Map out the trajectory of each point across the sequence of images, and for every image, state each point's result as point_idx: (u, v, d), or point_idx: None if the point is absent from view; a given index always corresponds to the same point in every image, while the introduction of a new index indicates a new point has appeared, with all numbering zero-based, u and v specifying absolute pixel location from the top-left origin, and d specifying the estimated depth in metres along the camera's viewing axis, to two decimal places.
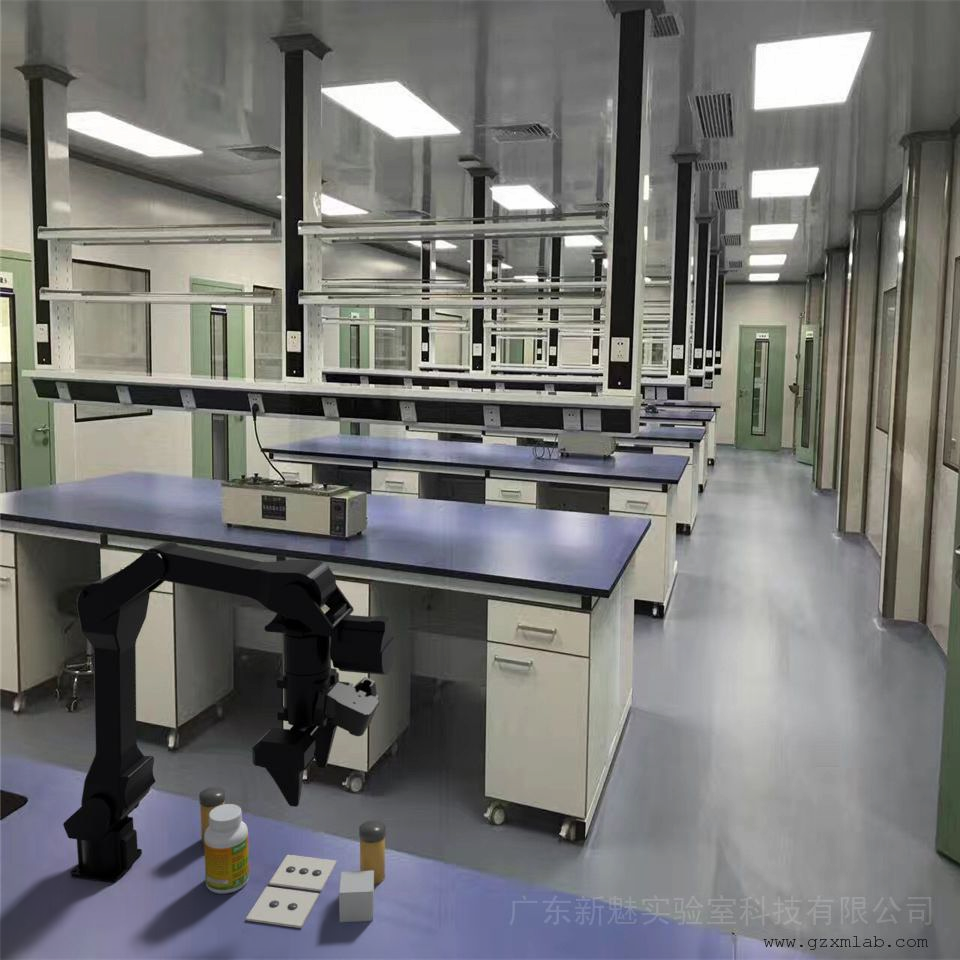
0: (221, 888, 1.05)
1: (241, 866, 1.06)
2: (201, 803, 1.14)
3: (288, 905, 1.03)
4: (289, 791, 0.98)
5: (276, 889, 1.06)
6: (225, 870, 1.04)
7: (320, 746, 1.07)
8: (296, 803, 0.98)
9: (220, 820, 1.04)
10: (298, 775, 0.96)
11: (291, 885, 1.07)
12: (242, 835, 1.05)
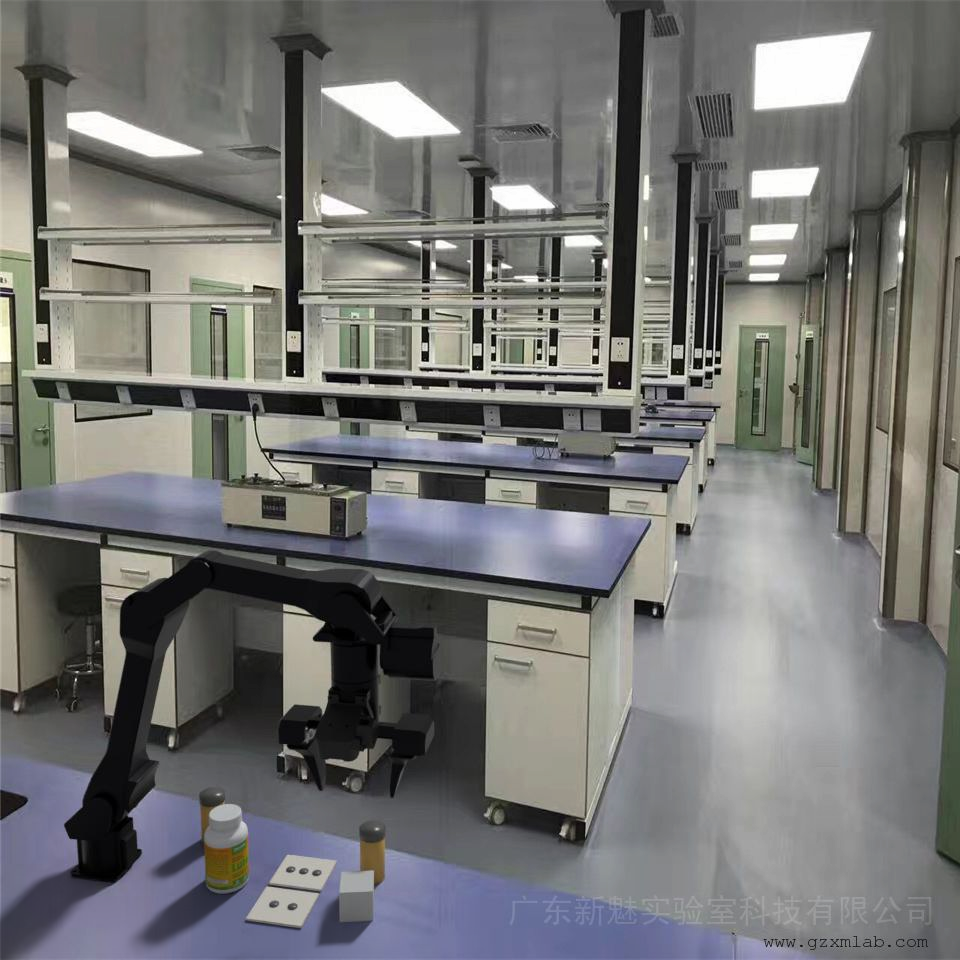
0: (221, 888, 1.05)
1: (241, 866, 1.06)
2: (201, 803, 1.14)
3: (288, 905, 1.03)
4: None
5: (276, 889, 1.06)
6: (225, 870, 1.04)
7: None
8: (318, 787, 1.04)
9: (220, 820, 1.04)
10: (303, 756, 1.03)
11: (291, 885, 1.07)
12: (242, 835, 1.05)
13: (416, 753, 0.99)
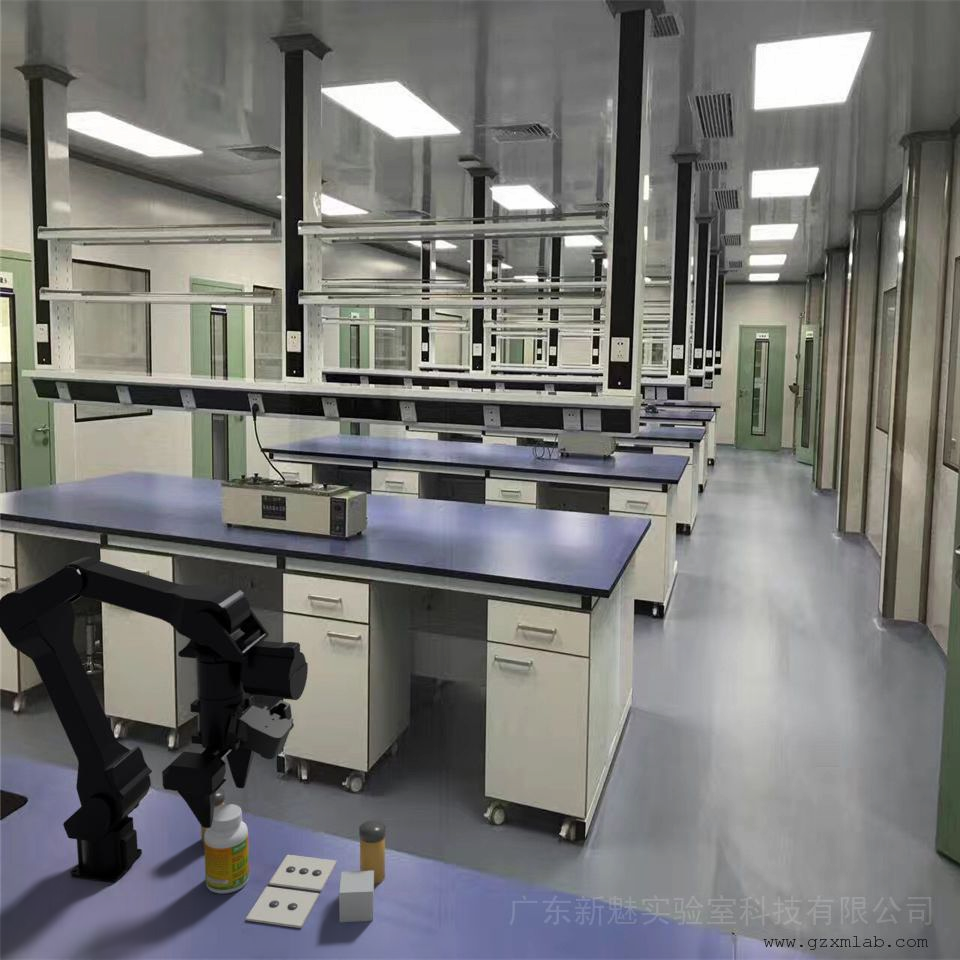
0: (221, 888, 1.05)
1: (241, 866, 1.06)
2: None
3: (288, 905, 1.03)
4: (201, 813, 1.00)
5: (276, 889, 1.06)
6: (225, 870, 1.04)
7: (238, 767, 1.10)
8: (208, 824, 1.01)
9: (220, 820, 1.04)
10: (209, 798, 0.98)
11: (291, 885, 1.07)
12: (242, 835, 1.05)
13: None
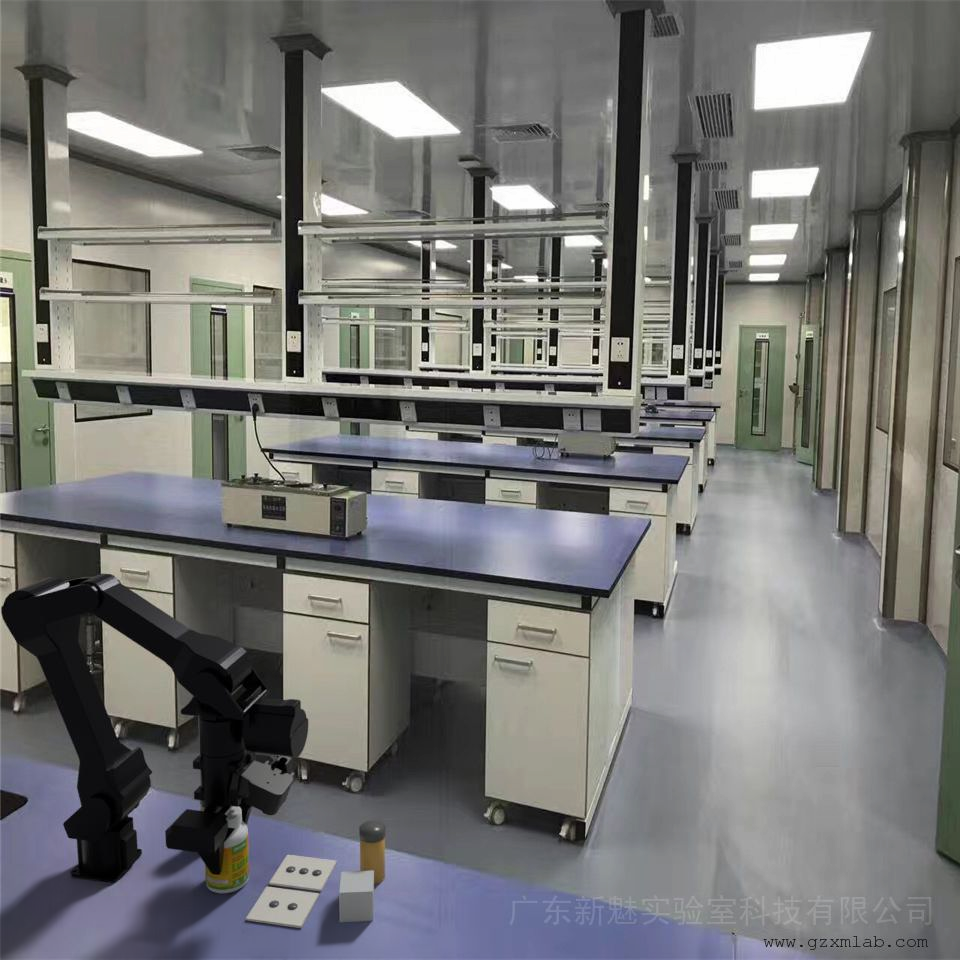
0: (221, 888, 1.05)
1: (241, 865, 1.06)
2: (201, 803, 1.14)
3: (288, 905, 1.03)
4: (211, 861, 1.03)
5: (276, 889, 1.06)
6: (225, 870, 1.04)
7: None
8: (218, 872, 1.04)
9: None
10: (218, 847, 1.01)
11: (291, 885, 1.07)
12: (242, 834, 1.05)
13: None
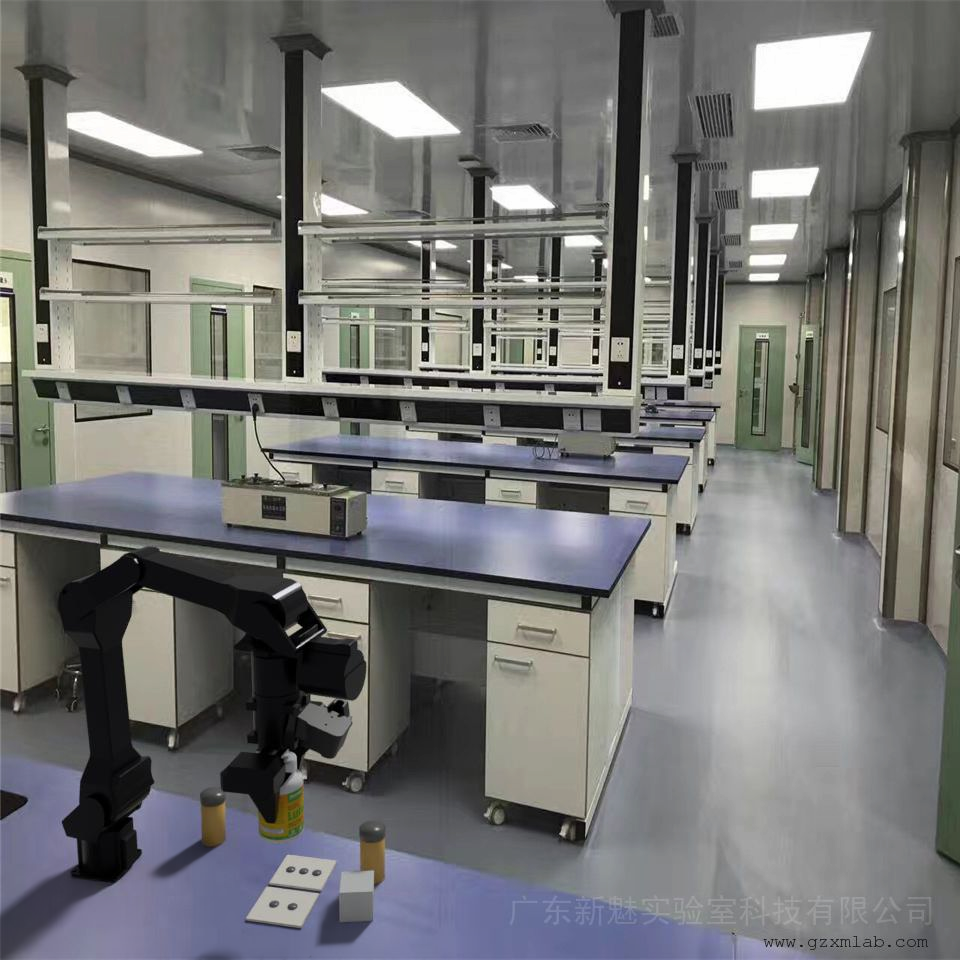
0: (276, 838, 0.98)
1: (297, 814, 0.99)
2: (202, 803, 1.14)
3: (288, 905, 1.03)
4: (266, 808, 0.97)
5: (276, 889, 1.06)
6: (281, 819, 0.98)
7: None
8: (273, 820, 0.97)
9: None
10: (274, 792, 0.95)
11: (291, 885, 1.07)
12: (298, 781, 0.99)
13: None
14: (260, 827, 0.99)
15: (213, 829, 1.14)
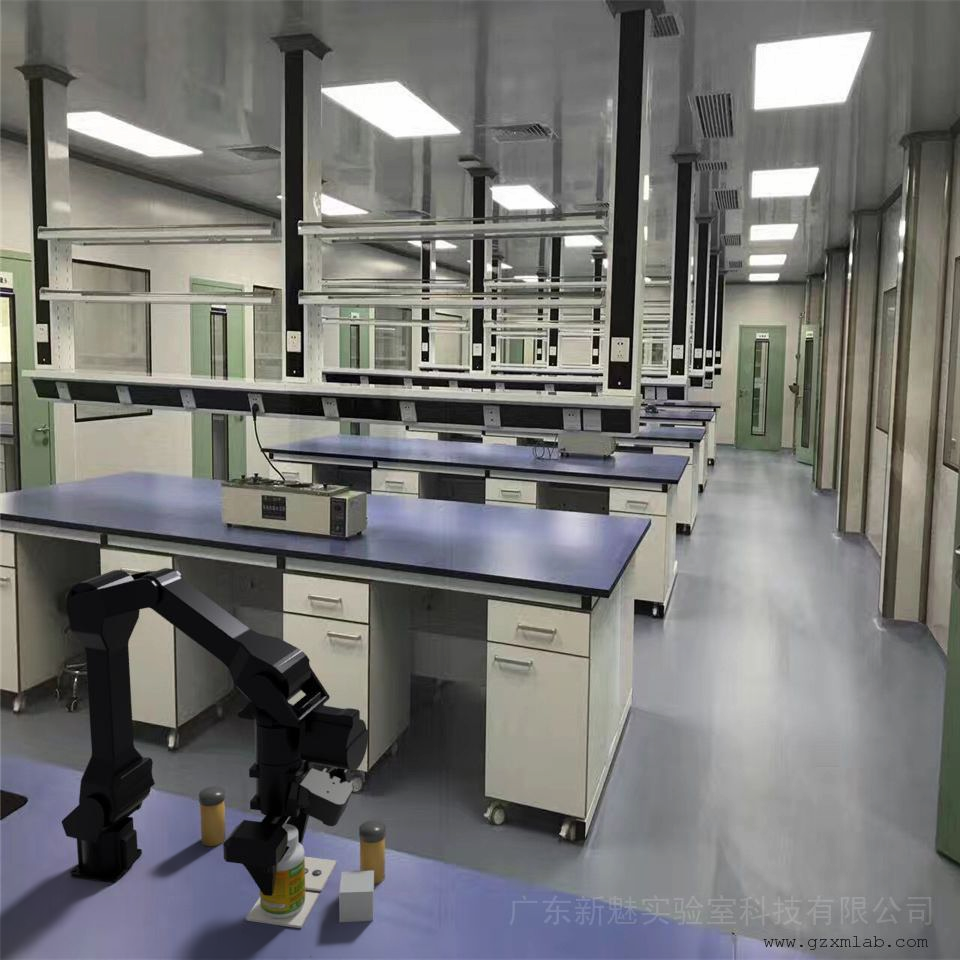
0: (278, 912, 1.00)
1: (298, 889, 1.01)
2: (201, 802, 1.14)
3: None
4: (263, 881, 0.97)
5: None
6: (282, 894, 1.00)
7: None
8: (270, 893, 0.97)
9: None
10: (272, 866, 0.95)
11: None
12: (299, 856, 1.01)
13: None
14: (262, 901, 1.01)
15: (213, 828, 1.14)
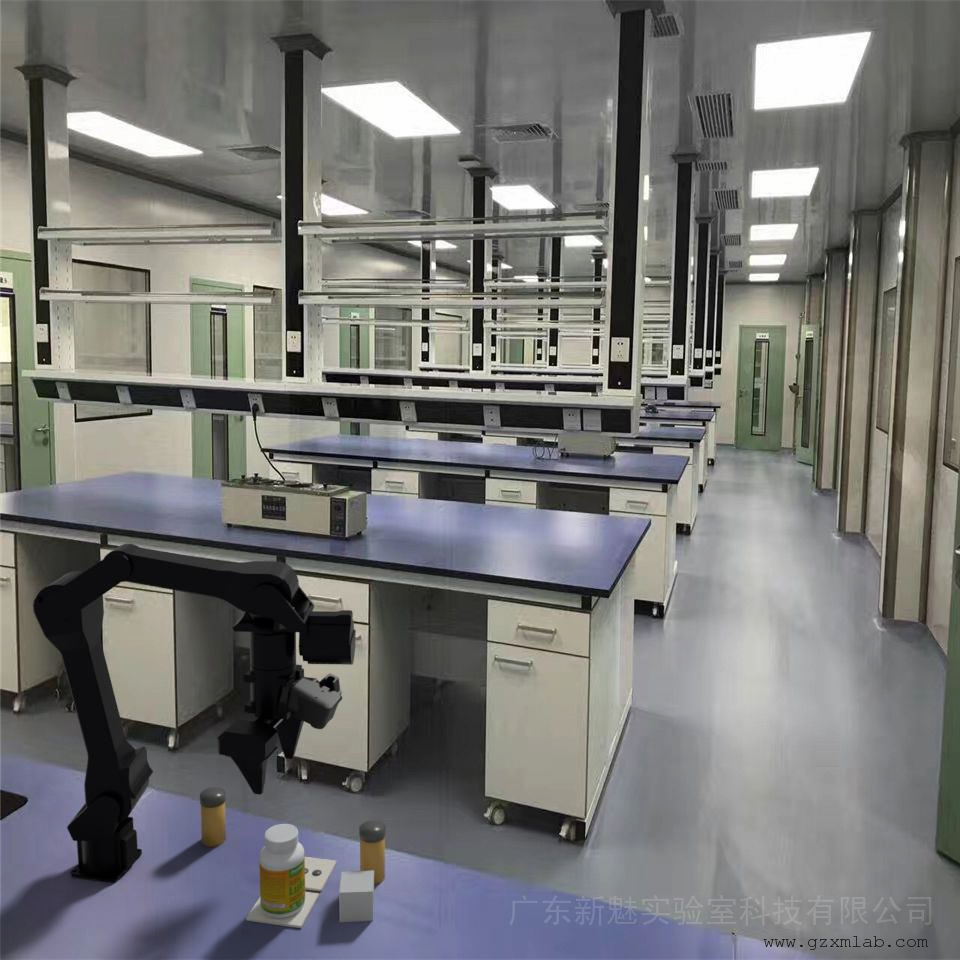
0: (278, 912, 1.00)
1: (298, 889, 1.01)
2: (202, 804, 1.14)
3: None
4: (253, 779, 1.03)
5: None
6: (282, 894, 1.00)
7: (287, 738, 1.13)
8: (260, 791, 1.04)
9: (277, 842, 0.99)
10: (261, 764, 1.02)
11: None
12: (299, 856, 1.01)
13: None
14: (262, 901, 1.01)
15: (213, 829, 1.14)
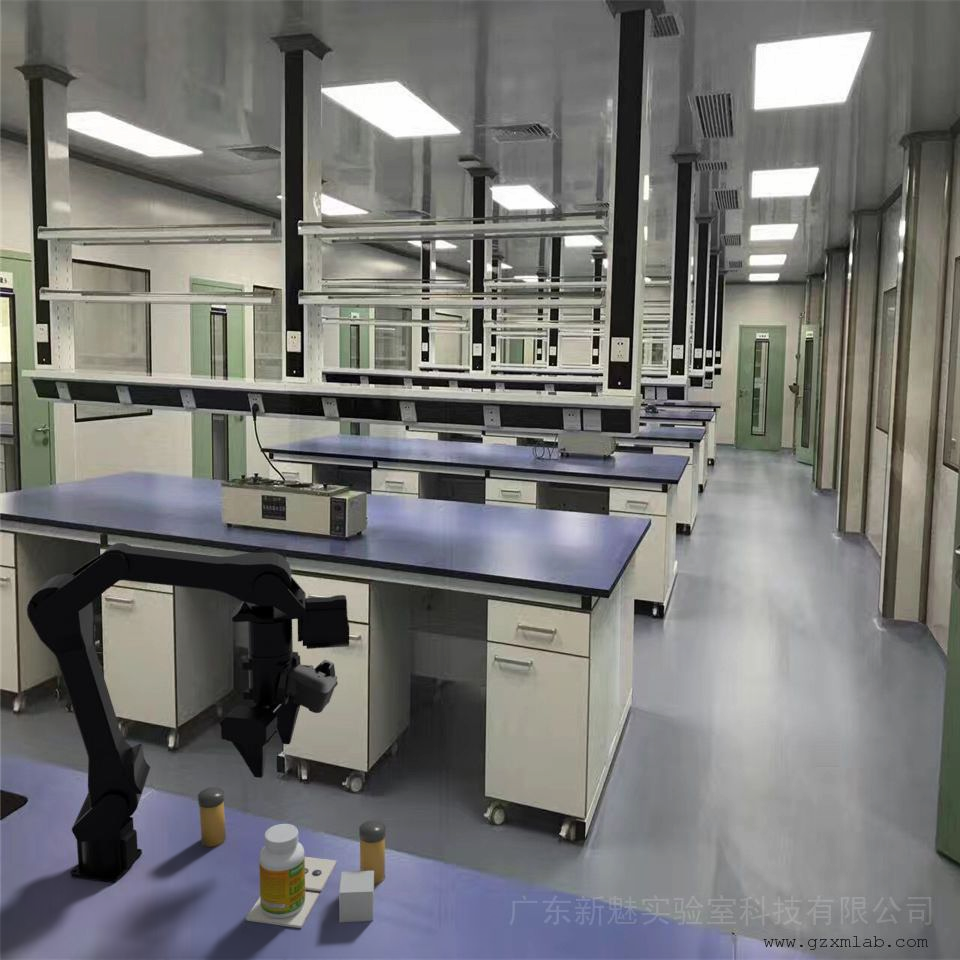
0: (278, 912, 1.00)
1: (298, 889, 1.01)
2: (201, 804, 1.14)
3: None
4: (254, 763, 1.07)
5: None
6: (282, 894, 1.00)
7: (284, 724, 1.17)
8: (260, 774, 1.08)
9: (277, 842, 0.99)
10: (261, 748, 1.05)
11: None
12: (299, 856, 1.01)
13: None
14: (262, 901, 1.01)
15: (213, 829, 1.14)
